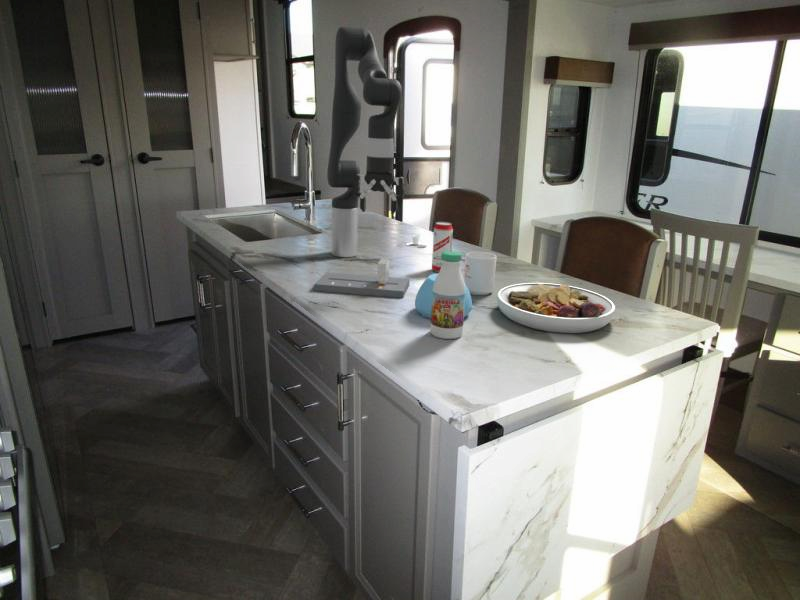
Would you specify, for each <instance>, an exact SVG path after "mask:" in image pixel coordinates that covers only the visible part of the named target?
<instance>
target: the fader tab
mask: <svg viewBox="0 0 800 600" xmlns="http://www.w3.org/2000/svg"><path fill="white" fill-rule="evenodd" d="M376 276H377V281H378V284H386V282H387V280H388V277H390V258H380V260H379V261H378V263H377V275H376Z"/></svg>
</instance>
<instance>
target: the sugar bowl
mask: <svg viewBox="0 0 800 600" xmlns="http://www.w3.org/2000/svg"><path fill="white" fill-rule="evenodd" d="M438 274H439V273H433V274H430V275H428V276H427V278H426V279H425V280H424V281H423V283H422V284H421V285H420V287H419V289H418V290H417V293H416V296H415V299H414V306H415V309H416V311H417V312H418V313H419V314H420V315H421V316H422V317H425V318H427V319H430V320H431V310H432V295H433V286H434V282H435V279H436V277H437V275H438ZM471 295H472V294H470V292H469V290H468V288H467V286H466V284H465V307H464V318H465V317H467V315H468V314H470V313H471V311H472V309H473V302H472V296H471Z"/></svg>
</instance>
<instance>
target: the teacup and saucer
mask: <svg viewBox="0 0 800 600" xmlns="http://www.w3.org/2000/svg"><path fill="white" fill-rule="evenodd" d="M411 240H412V242H408V243H406V244H405V245H406V246H407V247H411V248H414V247H417V248H425V247H427V246H428V244H427V243H425V242H422V243H421V235H412V236H411ZM411 244H412V245H413V246H412V245H411Z"/></svg>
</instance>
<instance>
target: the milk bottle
mask: <svg viewBox="0 0 800 600" xmlns="http://www.w3.org/2000/svg"><path fill="white" fill-rule="evenodd" d="M462 256H463V254H462V253H461V252H460V251H457V250H452V251H444V252H442V255H441V259H442V260H441V262H442V266H441V269H440V272H438V273H437V274H438V275H437V277H436V279H435V282H434V286H433V295H432V310H431V319H430V326H429V328H430V331H429V332H430V334H431V335H432V336H434V337H435V338H439V339H441V340H442V339H443V340H454V339H458V338H460V337H461V336H462V334H463V332H464V331H463V330H464V322H465V321H464V320H465V319H464V318H465V317H464V307H465V282H464V275H463V274H462V270H461V264H462Z"/></svg>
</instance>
